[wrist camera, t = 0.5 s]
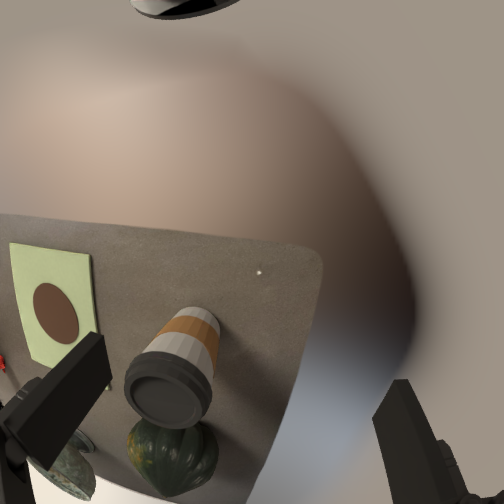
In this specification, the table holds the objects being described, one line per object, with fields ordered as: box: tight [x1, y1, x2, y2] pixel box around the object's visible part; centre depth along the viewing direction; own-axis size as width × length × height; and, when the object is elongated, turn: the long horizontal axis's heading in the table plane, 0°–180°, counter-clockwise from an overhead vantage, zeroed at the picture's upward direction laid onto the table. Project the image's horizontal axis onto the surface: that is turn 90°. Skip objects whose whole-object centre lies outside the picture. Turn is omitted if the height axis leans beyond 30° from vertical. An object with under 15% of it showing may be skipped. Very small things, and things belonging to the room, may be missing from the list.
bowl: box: [26, 429, 96, 501], centre depth 37 cm, size 20×19×15 cm
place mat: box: [9, 243, 110, 390], centre depth 36 cm, size 24×20×1 cm
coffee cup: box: [124, 307, 220, 429], centre depth 28 cm, size 8×8×15 cm
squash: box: [127, 418, 219, 498], centre depth 34 cm, size 14×15×15 cm
